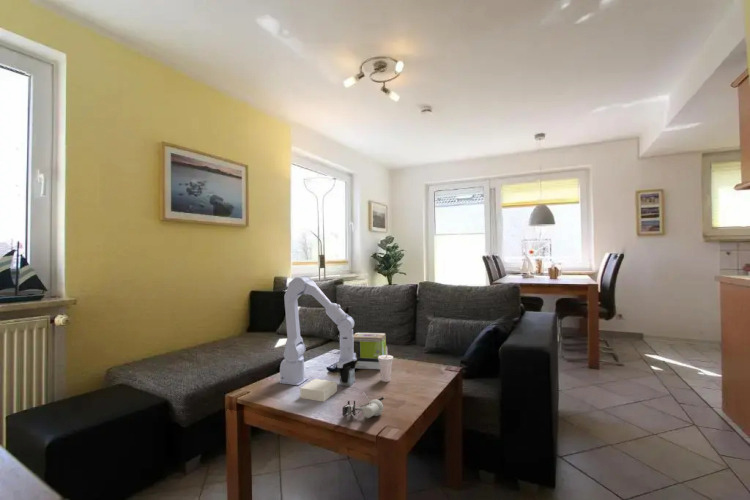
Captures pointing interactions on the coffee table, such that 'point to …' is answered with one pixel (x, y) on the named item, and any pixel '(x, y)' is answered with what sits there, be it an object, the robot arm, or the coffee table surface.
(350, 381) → the block
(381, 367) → the smoothie
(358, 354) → the tea box
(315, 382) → the base box
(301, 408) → the coffee table surface
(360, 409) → the clip-on lamp
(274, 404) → the coffee table surface
